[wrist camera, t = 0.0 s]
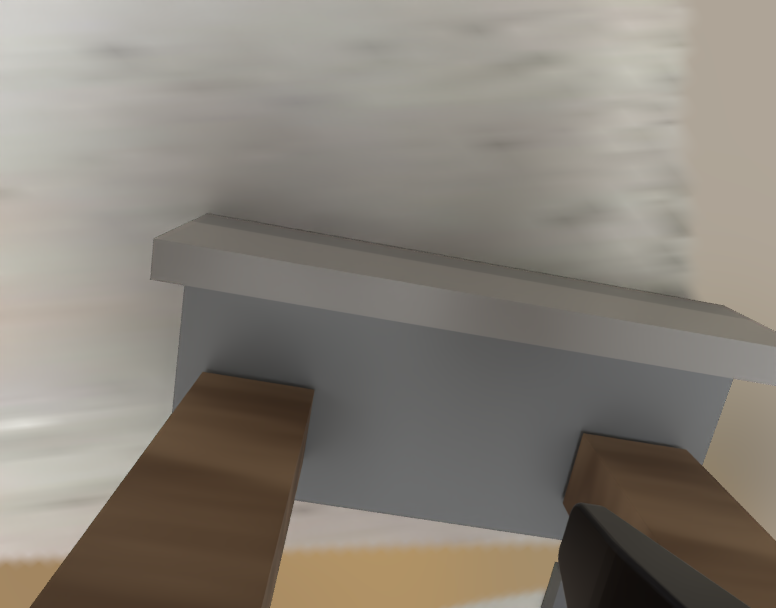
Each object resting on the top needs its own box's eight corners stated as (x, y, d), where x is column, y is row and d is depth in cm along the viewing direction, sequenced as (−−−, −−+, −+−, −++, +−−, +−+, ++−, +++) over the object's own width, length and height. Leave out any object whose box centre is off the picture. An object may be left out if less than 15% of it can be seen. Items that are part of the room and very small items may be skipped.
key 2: (302, 463, 23) (224, 810, 11) (194, 446, 22) (-3, 783, 11) (314, 389, 22) (243, 680, 10) (202, 371, 21) (-1, 648, 10)
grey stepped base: (648, 525, 26) (716, 624, 21) (182, 454, 25) (129, 540, 20) (723, 305, 24) (823, 355, 18) (206, 213, 22) (153, 238, 17)
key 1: (662, 518, 23) (939, 893, 12) (562, 503, 23) (746, 870, 12) (686, 449, 23) (1008, 778, 11) (583, 433, 22) (802, 752, 11)
